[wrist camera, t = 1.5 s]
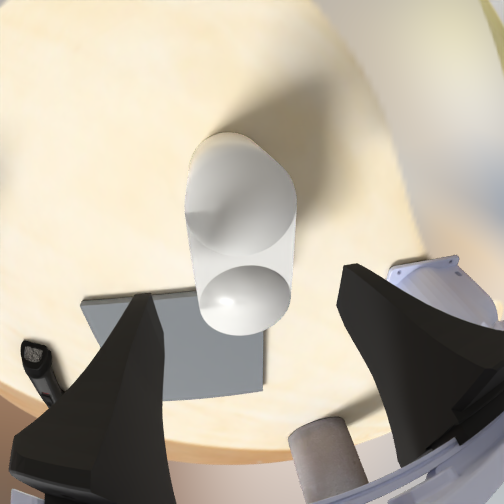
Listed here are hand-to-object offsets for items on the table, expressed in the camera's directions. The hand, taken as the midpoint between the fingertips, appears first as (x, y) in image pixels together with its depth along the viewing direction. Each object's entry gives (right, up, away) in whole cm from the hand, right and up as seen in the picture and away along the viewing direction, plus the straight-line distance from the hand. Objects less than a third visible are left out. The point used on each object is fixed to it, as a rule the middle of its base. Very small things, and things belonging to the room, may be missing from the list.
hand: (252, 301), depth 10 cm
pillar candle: (+10, -27, +29) cm, 40 cm away
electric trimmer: (-23, -13, +14) cm, 30 cm away
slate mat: (-6, -7, +13) cm, 16 cm away
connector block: (-1, +4, +7) cm, 9 cm away
